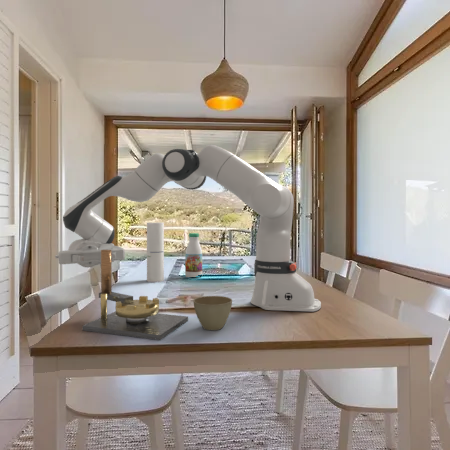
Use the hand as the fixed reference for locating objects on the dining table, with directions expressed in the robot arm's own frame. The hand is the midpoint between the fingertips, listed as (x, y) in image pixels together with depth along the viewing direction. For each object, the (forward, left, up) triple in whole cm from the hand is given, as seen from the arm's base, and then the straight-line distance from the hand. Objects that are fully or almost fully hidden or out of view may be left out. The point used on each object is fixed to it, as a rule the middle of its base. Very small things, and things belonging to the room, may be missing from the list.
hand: (97, 258), depth 112 cm
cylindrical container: (+5, -46, -16) cm, 49 cm away
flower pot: (-40, +6, -16) cm, 43 cm away
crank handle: (-16, +10, -12) cm, 22 cm away
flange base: (-21, +11, -15) cm, 28 cm away
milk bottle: (-7, -60, -16) cm, 62 cm away
